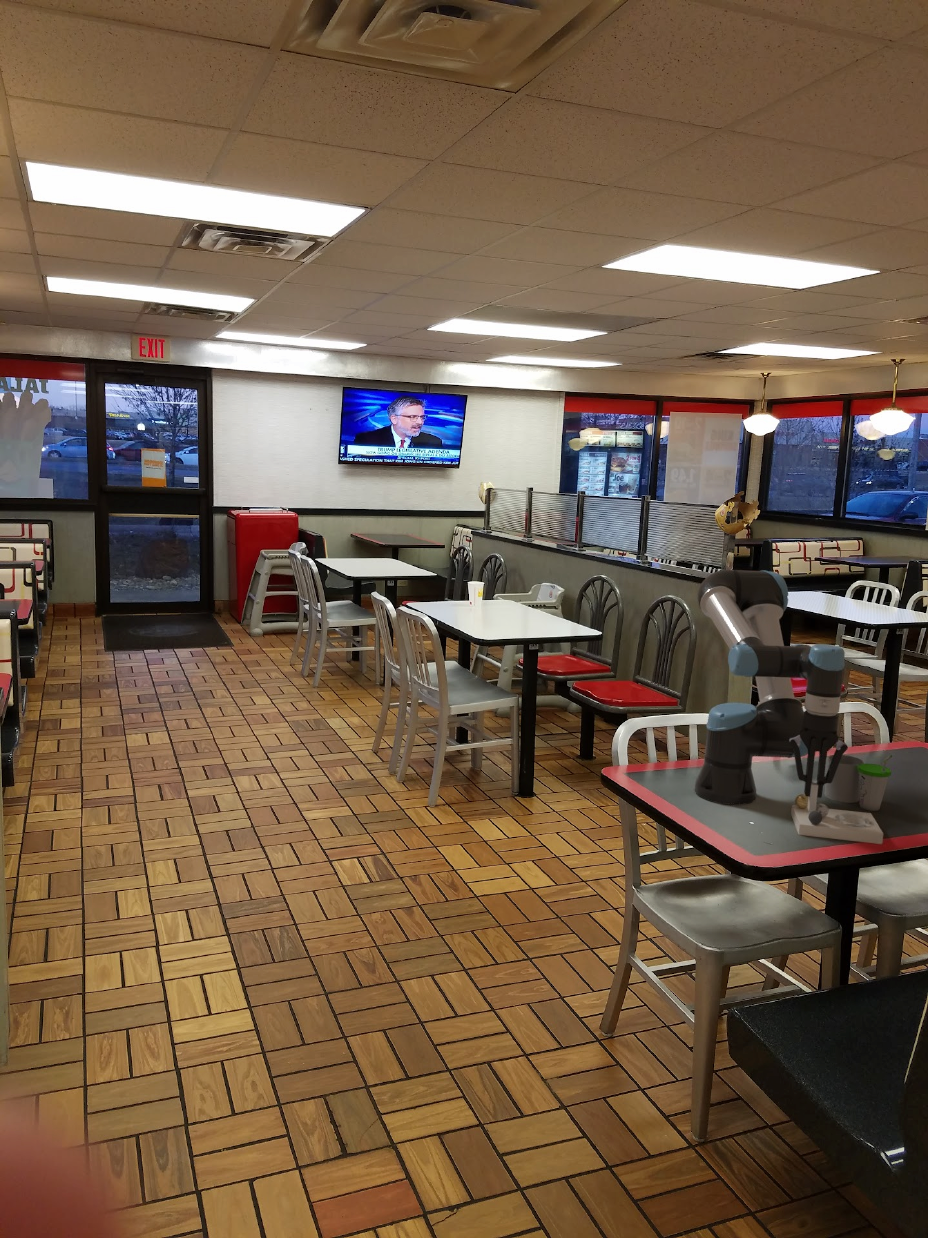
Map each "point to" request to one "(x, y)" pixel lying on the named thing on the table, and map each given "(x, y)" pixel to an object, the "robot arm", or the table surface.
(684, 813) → the table surface
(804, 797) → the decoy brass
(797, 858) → the table surface
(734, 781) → the robot arm
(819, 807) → the steel ball
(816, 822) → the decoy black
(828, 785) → the cup
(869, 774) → the cup
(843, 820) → the plate
